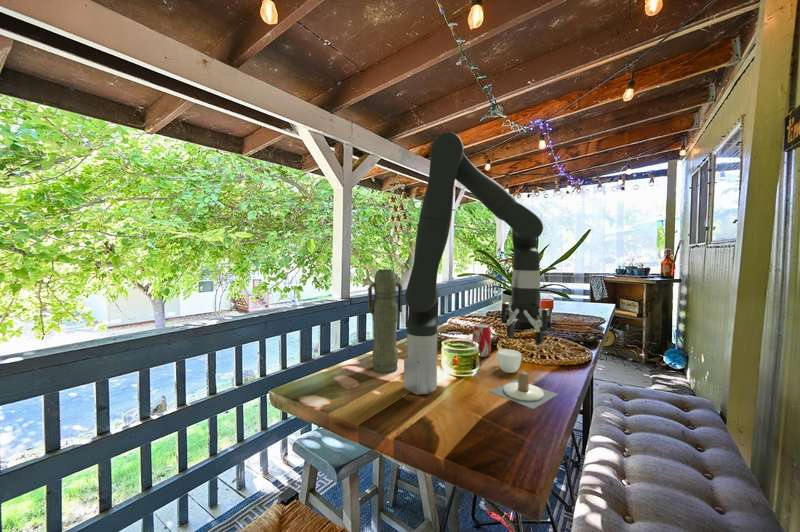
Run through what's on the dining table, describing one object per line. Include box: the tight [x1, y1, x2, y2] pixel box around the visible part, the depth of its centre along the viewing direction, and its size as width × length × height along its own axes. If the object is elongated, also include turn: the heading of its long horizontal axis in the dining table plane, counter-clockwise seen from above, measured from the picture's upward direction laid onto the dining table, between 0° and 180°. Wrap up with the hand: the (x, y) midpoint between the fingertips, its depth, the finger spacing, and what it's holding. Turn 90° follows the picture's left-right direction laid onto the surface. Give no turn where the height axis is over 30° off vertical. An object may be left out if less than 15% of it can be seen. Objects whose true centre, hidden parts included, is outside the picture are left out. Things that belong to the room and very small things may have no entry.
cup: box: [495, 348, 522, 374], centre depth 117 cm, size 8×10×7 cm
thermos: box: [367, 269, 403, 374], centre depth 118 cm, size 9×12×35 cm
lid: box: [504, 370, 544, 401], centre depth 98 cm, size 11×11×6 cm
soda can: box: [472, 323, 492, 358], centre depth 134 cm, size 7×7×12 cm
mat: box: [488, 379, 559, 410], centre depth 98 cm, size 14×14×1 cm
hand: (524, 341), depth 98 cm, fingers open, 8 cm apart
